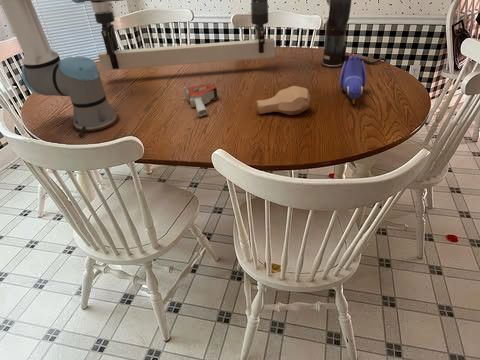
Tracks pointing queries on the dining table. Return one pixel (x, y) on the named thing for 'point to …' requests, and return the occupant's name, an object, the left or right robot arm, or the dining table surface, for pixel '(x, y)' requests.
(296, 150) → the dining table surface
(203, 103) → the tape dispenser
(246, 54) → the post
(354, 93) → the toy
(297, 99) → the squash
